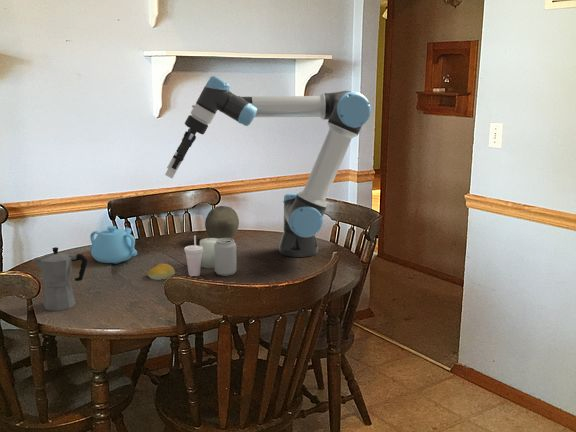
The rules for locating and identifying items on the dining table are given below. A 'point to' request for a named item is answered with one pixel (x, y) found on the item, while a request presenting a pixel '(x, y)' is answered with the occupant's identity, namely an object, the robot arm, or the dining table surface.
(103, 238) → the teapot
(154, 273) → the bread roll
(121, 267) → the dining table surface
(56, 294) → the coffeepot
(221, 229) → the cantaloupe
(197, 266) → the smoothie
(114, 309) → the dining table surface
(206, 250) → the sage mug
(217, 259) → the can
